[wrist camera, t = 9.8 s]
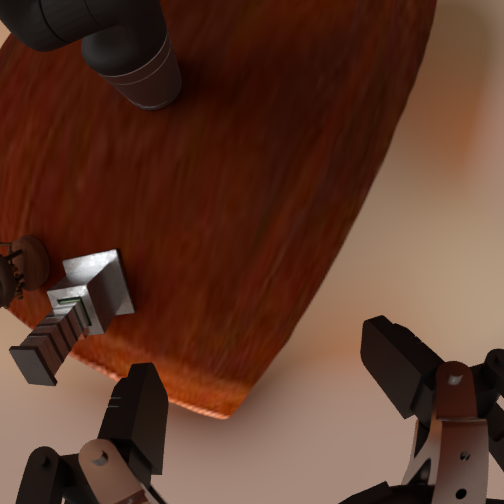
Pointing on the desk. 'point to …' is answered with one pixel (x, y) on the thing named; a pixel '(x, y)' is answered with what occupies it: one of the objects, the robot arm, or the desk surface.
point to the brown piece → (22, 268)
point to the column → (51, 342)
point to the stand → (95, 288)
